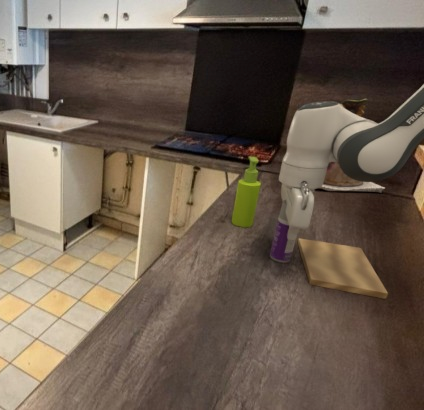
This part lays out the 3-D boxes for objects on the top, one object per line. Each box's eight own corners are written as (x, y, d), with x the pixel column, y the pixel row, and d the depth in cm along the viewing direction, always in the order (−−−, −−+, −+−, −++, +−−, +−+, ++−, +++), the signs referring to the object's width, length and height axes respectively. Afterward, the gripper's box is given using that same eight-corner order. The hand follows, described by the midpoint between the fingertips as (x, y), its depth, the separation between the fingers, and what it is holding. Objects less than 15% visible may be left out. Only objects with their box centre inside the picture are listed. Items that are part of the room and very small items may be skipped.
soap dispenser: (250, 218, 111) (263, 155, 103) (253, 228, 104) (267, 162, 96) (230, 216, 112) (241, 154, 104) (232, 226, 106) (244, 161, 98)
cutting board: (359, 252, 92) (360, 247, 91) (385, 299, 75) (388, 293, 74) (297, 242, 97) (298, 238, 96) (309, 284, 80) (311, 278, 79)
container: (265, 254, 91) (277, 200, 85) (279, 251, 93) (292, 197, 87) (280, 264, 87) (294, 208, 81) (294, 260, 89) (309, 205, 83)
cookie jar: (347, 172, 151) (371, 93, 138) (386, 194, 128) (419, 102, 116) (286, 171, 153) (304, 93, 140) (313, 192, 131) (338, 101, 118)
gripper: (327, 192, 71) (310, 252, 77) (310, 164, 88) (297, 215, 94) (291, 189, 73) (277, 247, 79) (281, 162, 91) (271, 211, 96)
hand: (288, 229), depth 87 cm, fingers open, 8 cm apart
